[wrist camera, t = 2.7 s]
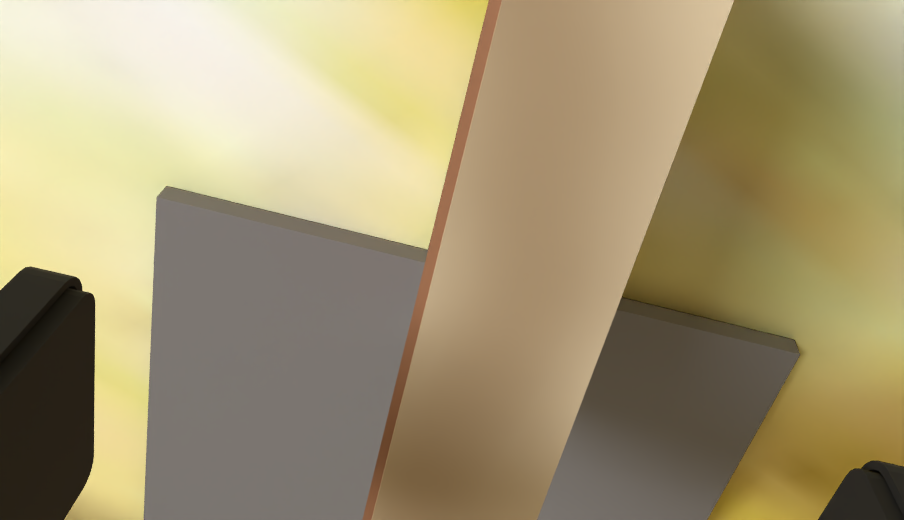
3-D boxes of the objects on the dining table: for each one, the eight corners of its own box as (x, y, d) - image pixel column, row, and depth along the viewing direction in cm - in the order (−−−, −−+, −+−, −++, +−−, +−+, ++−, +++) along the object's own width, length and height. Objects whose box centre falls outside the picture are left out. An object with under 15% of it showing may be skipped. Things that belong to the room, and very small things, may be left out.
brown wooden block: (671, -149, 16) (780, -121, 9) (509, 361, 22) (495, 628, 14) (534, -186, 16) (533, -186, 9) (407, 337, 21) (344, 592, 14)
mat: (794, 339, 21) (800, 354, 21) (597, 695, 30) (598, 712, 29) (166, 185, 21) (156, 197, 20) (147, 591, 29) (139, 606, 29)
